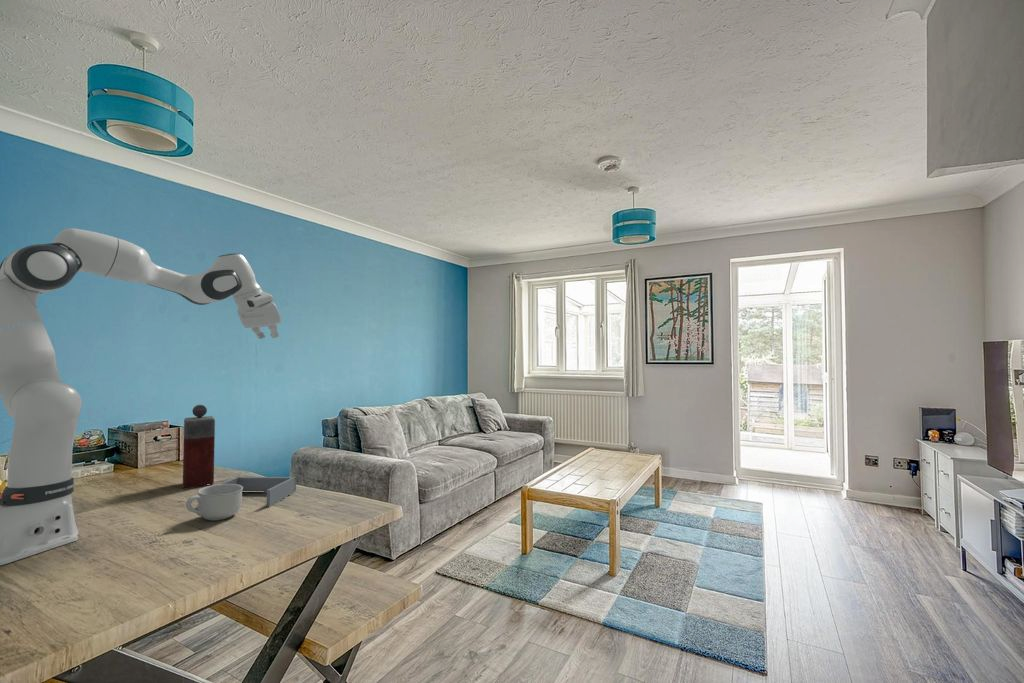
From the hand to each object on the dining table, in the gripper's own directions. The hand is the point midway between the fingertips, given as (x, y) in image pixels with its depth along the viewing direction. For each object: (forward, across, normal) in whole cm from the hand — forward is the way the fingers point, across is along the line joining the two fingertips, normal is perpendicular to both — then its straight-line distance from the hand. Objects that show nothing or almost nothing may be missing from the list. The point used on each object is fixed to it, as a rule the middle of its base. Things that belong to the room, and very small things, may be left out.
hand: (268, 337), depth 159 cm
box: (+42, +9, -31) cm, 53 cm away
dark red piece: (+42, -26, -33) cm, 59 cm away
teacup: (+36, +19, -44) cm, 60 cm away
